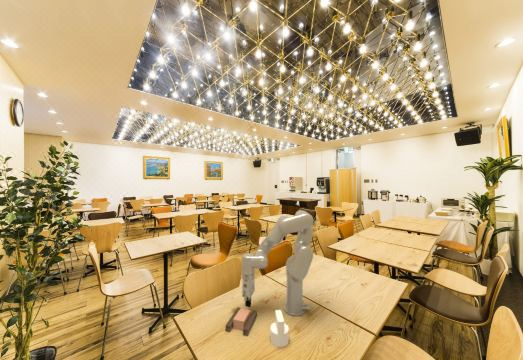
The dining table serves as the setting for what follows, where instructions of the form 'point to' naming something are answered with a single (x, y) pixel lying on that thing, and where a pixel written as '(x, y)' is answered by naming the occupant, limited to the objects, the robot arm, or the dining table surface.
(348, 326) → the dining table surface
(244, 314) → the block
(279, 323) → the base with upright slab
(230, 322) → the chute
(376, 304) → the dining table surface
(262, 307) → the dining table surface
